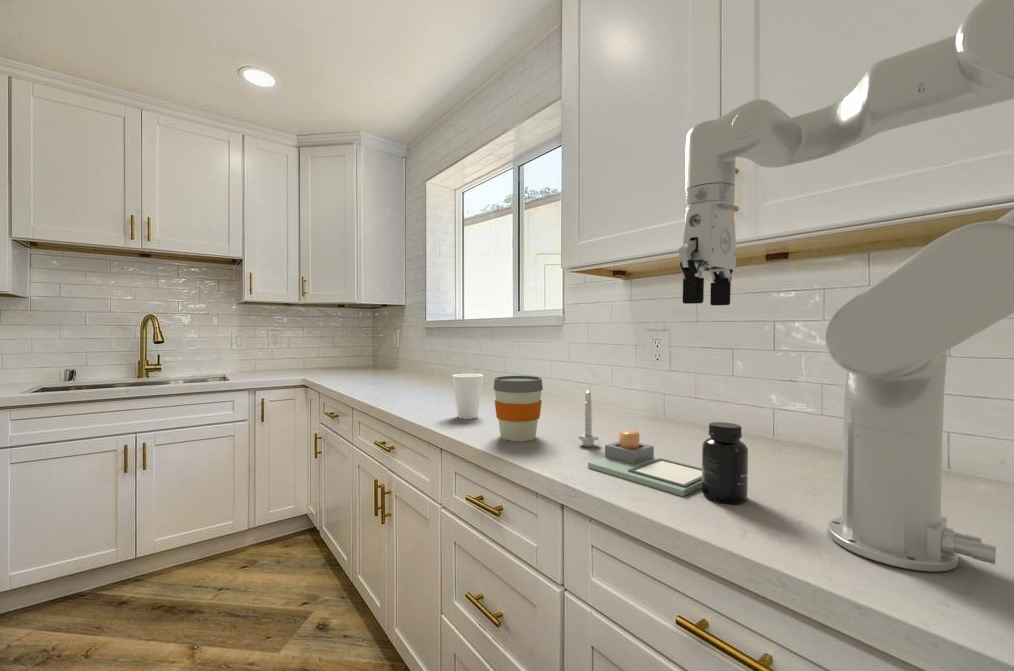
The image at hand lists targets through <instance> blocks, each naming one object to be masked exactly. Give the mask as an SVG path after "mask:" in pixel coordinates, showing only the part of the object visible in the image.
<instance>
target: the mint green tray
mask: <svg viewBox="0 0 1014 671" xmlns="http://www.w3.org/2000/svg"><path fill="white" fill-rule="evenodd" d="M654 447H655V446H654V445H651V444H645V443H641V442H639V448H638V449H634V450H630V449H626V448H622V447H619V440H618V441H615V442H612V443H608V444H605V445H604V457H601V458H598V459H595V460H592V461H588V463H587V468H588V469H593V470H595V471H597V472H602V473H605V474H608V475H612V476H615V477H618V478H622V479H624V480H626V481H627V480H628V481H631V482H634V483H638V484H640V485H644V486H647V487H651V488H654V489H658V490H661V491H664V492H667V493H670V494H674V495H678V496H680V497H685V496H687V495H689V494H691V493H693V492H695V491H697V490H699V489H702V466H701V467H700V466H697V465H692V464H688V463H684V462H680V461H676V460H672V459H667V458H664V457H660V456H656V455H655V454H654V450H655V448H654Z"/></svg>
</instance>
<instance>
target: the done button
mask: <svg viewBox="0 0 1014 671" xmlns="http://www.w3.org/2000/svg"><path fill="white" fill-rule="evenodd" d="M618 435H619V438H618V439H619V440H618V441H619V447H622V448H626V449H630V450H634V449H638V448H639V443H640V432H639V431H635V430H626V429H625V430H620V431H619V434H618Z"/></svg>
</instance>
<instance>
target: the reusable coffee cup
mask: <svg viewBox="0 0 1014 671" xmlns="http://www.w3.org/2000/svg"><path fill="white" fill-rule="evenodd" d="M543 389H544V387H543V378H542V377H539V376H533V375H503V376H497V377H495V378H494V380H493V390H494V395H495V399H494V407H495V414H496V418H497V419H498V426H499V433H500V438H501V439H502V440H504V439H505V440H504V441H508V440H510V441H509V442H528V441H527V440H529V441H533V440H535V439H536V437H537V430H538V429H537V428H538V421H539V419H540V418H541V417H540V416H541V409H542V402H543V401H542V399H541V396H542V391H543ZM532 439H533V440H532Z"/></svg>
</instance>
